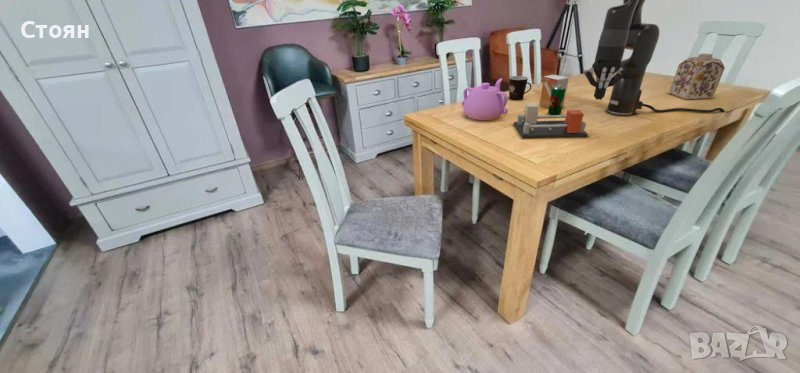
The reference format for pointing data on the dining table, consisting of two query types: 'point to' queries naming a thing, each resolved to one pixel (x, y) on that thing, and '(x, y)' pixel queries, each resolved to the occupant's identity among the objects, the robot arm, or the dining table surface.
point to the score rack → (546, 128)
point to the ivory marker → (531, 113)
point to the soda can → (556, 99)
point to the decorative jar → (697, 77)
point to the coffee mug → (517, 87)
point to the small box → (547, 88)
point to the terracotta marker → (573, 121)
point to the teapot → (485, 102)
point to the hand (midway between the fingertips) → (598, 98)
